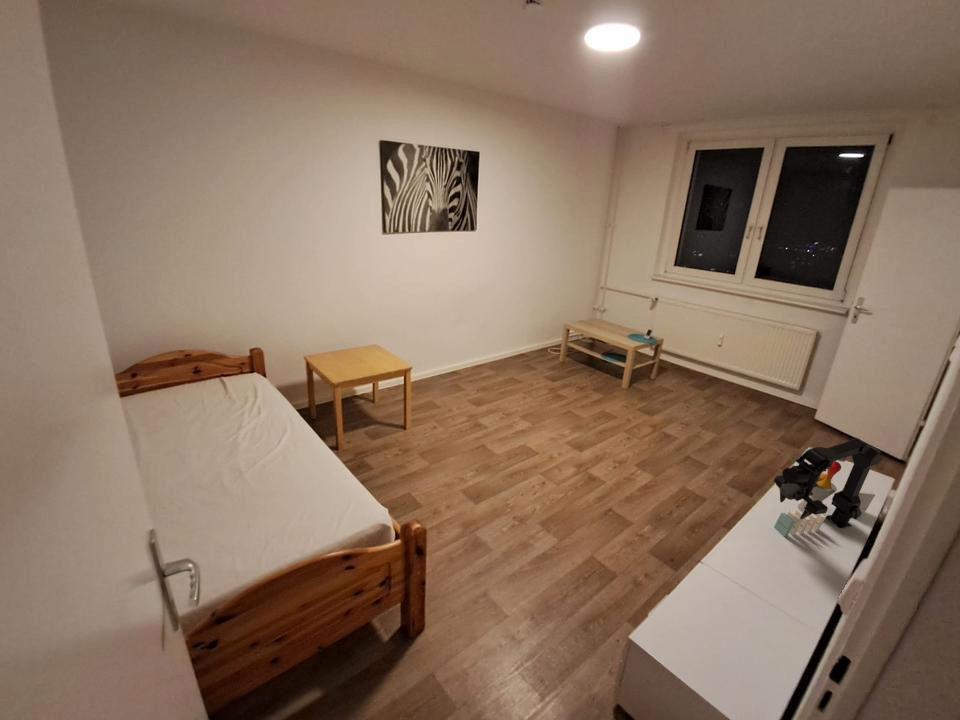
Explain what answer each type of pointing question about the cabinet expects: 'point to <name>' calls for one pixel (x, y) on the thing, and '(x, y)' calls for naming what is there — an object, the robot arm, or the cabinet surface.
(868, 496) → the supplement box
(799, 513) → the domino
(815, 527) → the end domino
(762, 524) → the cabinet surface
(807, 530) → the domino
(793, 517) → the domino
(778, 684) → the cabinet surface
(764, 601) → the cabinet surface
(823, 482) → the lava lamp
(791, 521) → the domino
